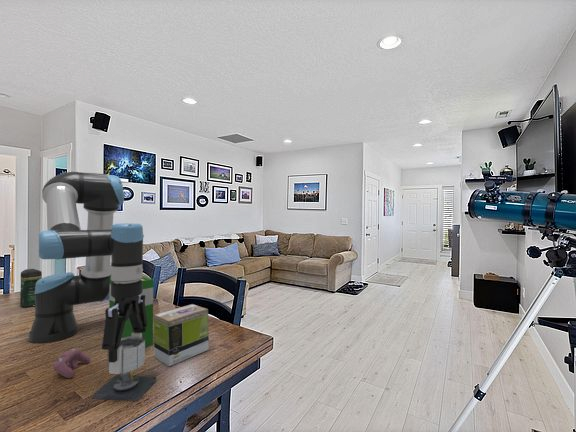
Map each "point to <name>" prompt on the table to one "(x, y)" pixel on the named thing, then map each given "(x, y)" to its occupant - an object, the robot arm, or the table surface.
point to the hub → (131, 353)
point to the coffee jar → (29, 286)
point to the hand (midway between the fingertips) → (126, 363)
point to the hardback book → (149, 312)
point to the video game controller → (70, 362)
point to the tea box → (180, 333)
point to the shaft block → (125, 387)
